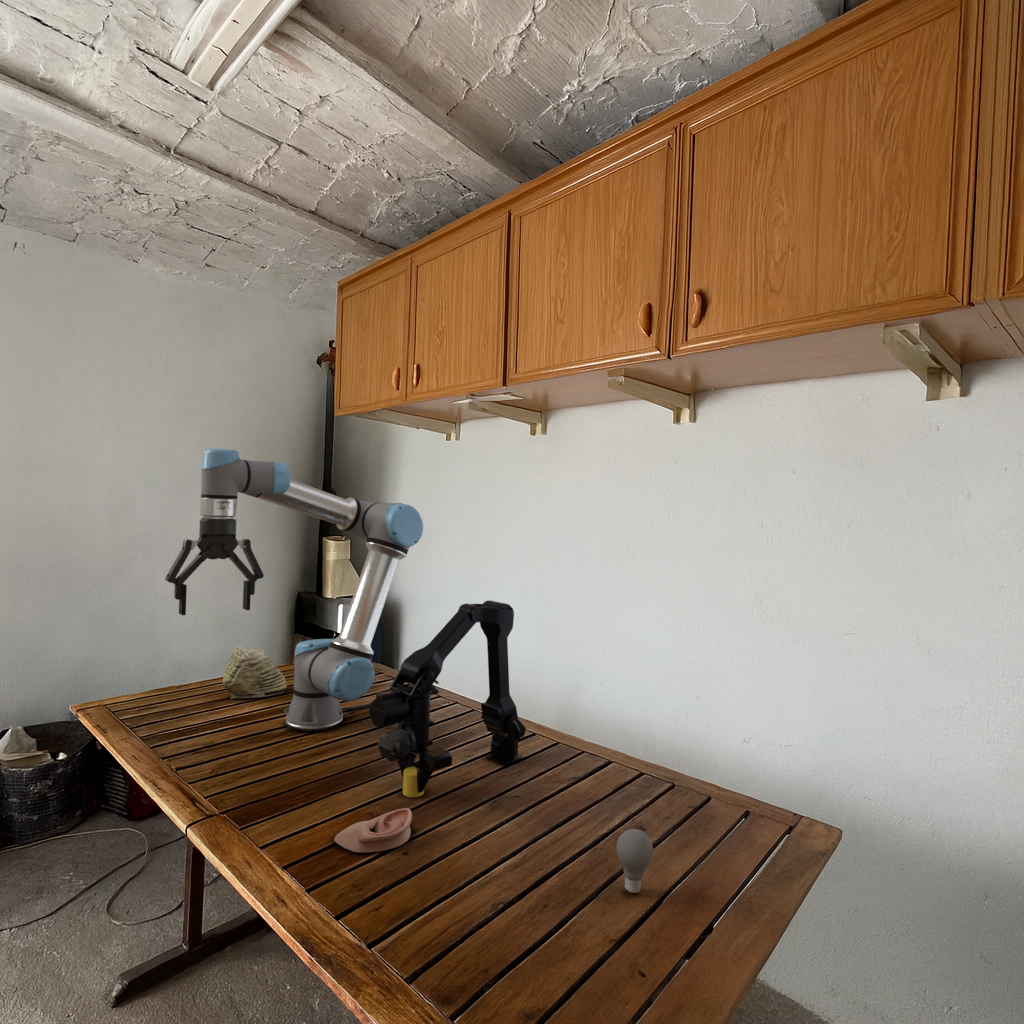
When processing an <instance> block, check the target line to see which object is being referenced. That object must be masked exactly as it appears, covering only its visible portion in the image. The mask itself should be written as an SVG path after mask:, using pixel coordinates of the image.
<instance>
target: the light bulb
mask: <svg viewBox="0 0 1024 1024" xmlns="http://www.w3.org/2000/svg"><path fill="white" fill-rule="evenodd" d="M615 849H616V854H617V857H618V859H619V861H620V863H621V865H622V867H623V873H624V874H623V875H624V876H625V878H624V888H625V890H627V891H628V892H630V893H634V894H635V893H639V892H640V891H641V889H642V887H641V886H642V879H643V877H644V875H645V871H646V868H647V867H648V866H649V864H650V863H651V861H652V859H653V855H654V847H653V843H652V841H651V838H649V836H648V835H647V834H646V833H645V832H643V831H642V830H641V829H636V828H629V829H627V830H625V831H623V832H622V833H621V834H620V835H619V837H618V839H617V841H616V847H615Z"/></svg>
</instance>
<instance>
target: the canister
mask: <svg viewBox="0 0 1024 1024" xmlns="http://www.w3.org/2000/svg"><path fill="white" fill-rule="evenodd" d="M424 794H425V789H424V790H423V792H420V793H419V792H418V788H417V770H416V769H415V768H414V767H408V768H406V769H405V770H404V776H403V777H402V795H403V796H405V797H407V798H418V797H421V796H423V795H424Z"/></svg>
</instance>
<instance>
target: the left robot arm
mask: <svg viewBox="0 0 1024 1024" xmlns="http://www.w3.org/2000/svg"><path fill="white" fill-rule="evenodd" d="M200 472H201V476H200V479H201V480H200V481H201V482H200V483H201V484H200V507H199V515H200V516H201V518H200V519H199V532H198V533H199V535H198V536H199V538H198V539H197V540H193V539H188V538H184V539H183V541H182V545H181V546H182V547H181V550H180V551H179V553H178V555H177V556H176V559H175V560H174V562H173V563H172V565H171V567H170V569H169V570H168V573H167V574H166V576H165V578H164V579H165V581H166V582H168V583H171V584H173V586H174V593H173V596H174V599H175V600H176V601H178V614H179V615H181V616H186V615H187V591H188V590H187V588H188V587H187V584H185V582H186V581H187V580H188V579H189V578H190V577H191V575H192V574H194V572H195V571H196V570H197V569H198V568H199V567H200V566H201V564H202V563H204V562H205V561H206V560H207V559H208V560H217V559H219V560H226V559H229V561H231V562H232V563H233V565H234V566H235V567H236V568H237V569H238V570H239V572H240V573H241V574H242V575H243V576H244V577H245V578H246V580H243V587H242V588H243V589H242V593H243V594H242V609H243V610H245V611H250V610H251V596H254V595H255V592H256V591H255V590H256V582H257V581H258V580H260V579H263V578H264V576H265V575H264V572H263V570H262V568H261V565H260V564H259V561H258V560H257V558H256V556H255V554H254V552H253V550H252V541H251V539H249V538H242V539H237V520H236V518H235V517H237V515H238V493H240V494H242V495H243V494H244V495H247V496H250V497H252V498H256V499H259V500H262V501H265V502H269V503H271V504H275V505H277V506H280V507H283V508H286V509H289V510H292V511H296V512H299V513H300V514H304V515H307V516H310V517H313V518H316V519H320V520H323V521H325V522H327V523H328V522H329V523H331V524H334V525H336V527H337V529H339V530H341V531H343V532H347V533H349V534H352V535H355V536H357V537H358V538H361V539H364V540H366V542H365V545H366V547H367V550H368V553H367V555H366V558H365V562H364V564H363V567H362V570H361V572H360V575H359V578H358V581H357V584H356V587H355V590H354V592H353V596H352V598H351V601H350V604H349V607H348V610H347V611H346V612H347V613H346V615H345V618H344V622H343V624H342V627H341V630H340V632H339V635H338V636H336V637H335V638H319V639H308V640H303V641H300V642H297V644H296V646H295V650H294V655H293V657H294V672H293V695H292V696H293V697H292V699H291V702H290V704H289V706H288V707H285V708H283V714H284V715H285V714H286V715H285V726H286V728H287V729H289V730H291V731H294V732H295V731H296V732H301V733H316V732H325V731H329V730H332V729H335V728H337V727H339V726H340V725H342V723H343V722H344V714H343V711H344V712H345V711H353V710H359V709H366V708H370V707H371V704H372V702H371V703H367V704H361V705H354V706H344V707H342V706H341V702H340V701H342V702H353V701H357V700H359V699H360V698H361V697H363V696H364V695H366V693H367V692H369V690H370V689H371V688H372V685H373V684H374V681H375V676H376V675H375V674H376V671H375V669H374V665H373V664H372V660H373V657H374V653H375V652H374V650H373V649H372V641H373V639H374V636H375V633H376V630H377V627H378V624H379V621H380V618H381V616H382V612H383V609H384V607H385V603H386V601H387V598H388V594H389V592H390V589H391V586H392V582H393V581H394V580H393V579H394V578H395V577H394V576H395V573H396V570H397V568H398V565H399V562H400V561H401V560H402V559H405V558H406V557H407V555H408V553H409V549H410V548H411V547H413V546H415V545H417V544H418V543H419V542H420V540H421V539H422V536H423V532H424V522H423V518H422V517H421V514H420V512H419V511H418V510H417V509H416V508H415V507H414V506H412V505H409V504H407V503H406V504H405V503H402V502H380V501H366V500H360V499H357V498H354V497H347V498H345V497H344V498H343V497H342V496H338V495H335V494H333V493H329V492H327V491H324V490H321V489H319V488H316V487H313V486H311V485H308V484H305V483H302V482H300V481H297V480H295V479H292V473H291V469H290V467H289V465H287V464H286V463H284V462H277V461H266V460H250V459H249V460H248V459H242V458H241V457H240V452H239V451H238V450H236V449H227V448H206V449H205V450H203V453H202V458H201V466H200ZM195 547H197V548H198V549H199V552H198V553H197V554H196V555H195V557H194V558H193V559H192V561H190V563H189V564H188V565H187V566H185V568H184V569H183V570H182V571H181V569H182V567H183V565H184V564H185V562H186V560H187V559H188V557H189V555H190V553H191V551H193V550H194V549H195ZM237 547H239V548H240V549H242V551H243V554H244V556H245V558H246V560H247V562H248V564H249V566H250V568H251V570H252V572H251V570H250V569H249V568H248V567H247V566H246V565H245V563H244V562H243V561H242V560H241V558H240V557H239V555H238V554H237V553H235V550H236V548H237ZM180 571H181V572H180ZM178 574H179V575H178ZM434 683H435V684H437V685H439V684H440V682H439V681H438V680H437V679H436V680H435V682H434ZM410 687H412V688H414V685H411V686H410Z"/></svg>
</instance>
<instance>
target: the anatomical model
mask: <svg viewBox="0 0 1024 1024" xmlns="http://www.w3.org/2000/svg"><path fill="white" fill-rule="evenodd" d="M412 819H413V813H412V811H411V809H410V808H408V807H404V808H398V809H395V810H392V811H388V812H385V813H384V814H380V815H379V816H377V817H374V818H372V819H369V820H362V821H358V822H354V823H353V824H351V825H348V826H347V827H346V828H344V829H341V831H340V832H338V833H337V834H336V835H335V837H334V839H333V840H334V842H335V843H336V844H337V845H338V846H339V847H341V848H343V849H346V850H348V851H350V852H353V853H359V854H364V853H376V852H383V851H387V850H391V849H395V848H398V847H399V846H402V845H404V844H405V843H406V842H408V841H409V840H410V838H411V833H412V831H411V827H410V825H411V824H412Z"/></svg>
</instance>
